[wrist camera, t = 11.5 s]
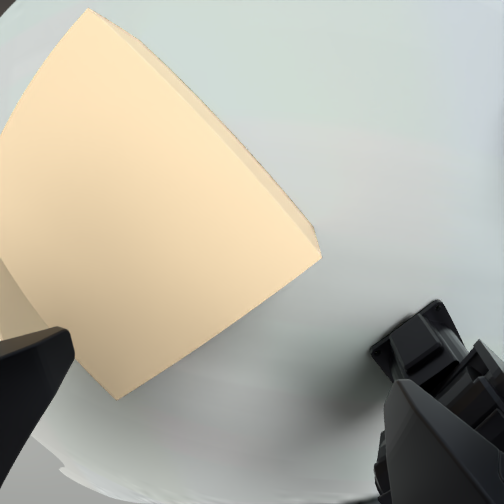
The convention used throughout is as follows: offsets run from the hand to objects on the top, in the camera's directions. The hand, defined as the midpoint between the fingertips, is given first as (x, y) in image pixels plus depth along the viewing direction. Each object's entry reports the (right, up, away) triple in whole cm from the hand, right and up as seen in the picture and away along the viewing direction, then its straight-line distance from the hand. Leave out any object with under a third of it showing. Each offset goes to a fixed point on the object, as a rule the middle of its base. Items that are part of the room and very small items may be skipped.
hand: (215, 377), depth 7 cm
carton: (-7, +7, +13) cm, 16 cm away
